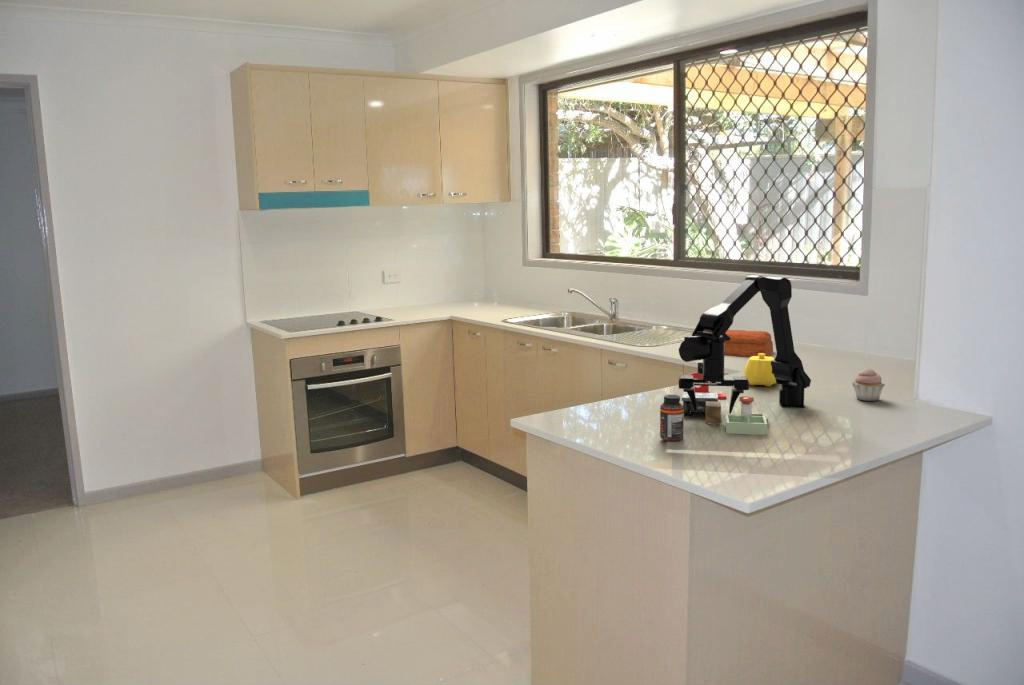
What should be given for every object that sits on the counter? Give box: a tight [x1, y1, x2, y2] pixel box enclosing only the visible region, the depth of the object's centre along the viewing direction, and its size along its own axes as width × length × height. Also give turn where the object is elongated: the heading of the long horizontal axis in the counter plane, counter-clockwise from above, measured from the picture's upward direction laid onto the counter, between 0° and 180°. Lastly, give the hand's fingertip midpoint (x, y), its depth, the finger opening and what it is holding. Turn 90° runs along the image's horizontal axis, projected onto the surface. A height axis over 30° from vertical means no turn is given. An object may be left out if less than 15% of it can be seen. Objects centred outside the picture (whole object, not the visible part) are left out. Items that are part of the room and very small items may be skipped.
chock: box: [705, 401, 722, 425], centre depth 225 cm, size 4×6×5 cm, turn 167°
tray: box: [725, 414, 768, 436], centre depth 215 cm, size 10×8×3 cm
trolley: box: [681, 391, 719, 416], centre depth 233 cm, size 11×8×5 cm
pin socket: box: [751, 412, 769, 427], centre depth 222 cm, size 6×6×2 cm
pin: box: [739, 395, 755, 423], centre depth 214 cm, size 4×4×8 cm
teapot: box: [743, 353, 776, 388], centre depth 269 cm, size 18×11×11 cm, turn 158°
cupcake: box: [851, 366, 886, 402], centre depth 246 cm, size 9×9×10 cm
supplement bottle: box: [659, 394, 685, 442], centre depth 208 cm, size 6×6×11 cm
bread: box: [706, 329, 774, 358], centre depth 324 cm, size 16×27×11 cm, turn 59°
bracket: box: [689, 371, 727, 400], centre depth 253 cm, size 12×4×8 cm, turn 79°
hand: (712, 412), depth 225 cm, fingers open, 9 cm apart
